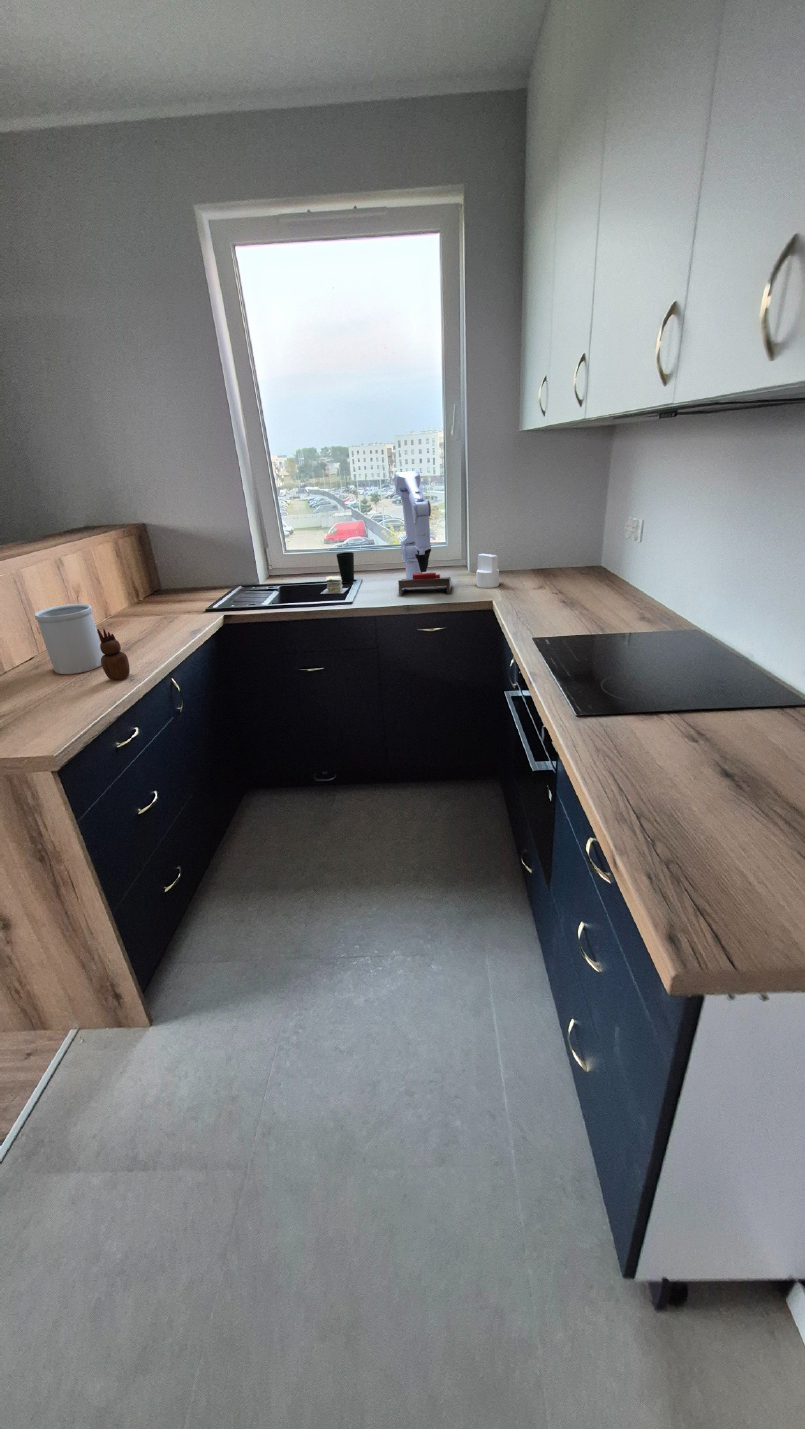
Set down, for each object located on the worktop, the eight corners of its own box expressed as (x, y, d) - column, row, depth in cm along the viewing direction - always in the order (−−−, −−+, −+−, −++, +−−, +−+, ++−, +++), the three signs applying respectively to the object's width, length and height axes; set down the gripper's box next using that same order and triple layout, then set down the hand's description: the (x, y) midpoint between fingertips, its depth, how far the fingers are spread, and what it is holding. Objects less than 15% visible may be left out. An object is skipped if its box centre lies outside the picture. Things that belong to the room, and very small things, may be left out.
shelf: (402, 588, 238) (401, 574, 236) (450, 586, 236) (450, 572, 233) (399, 595, 227) (398, 580, 225) (449, 593, 225) (449, 578, 222)
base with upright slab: (503, 584, 232) (503, 554, 227) (486, 588, 228) (486, 558, 223) (488, 581, 239) (488, 552, 234) (472, 585, 235) (471, 555, 230)
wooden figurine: (107, 684, 158) (91, 632, 152) (106, 678, 163) (90, 627, 156) (133, 679, 161) (118, 627, 154) (131, 673, 165) (117, 622, 159)
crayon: (413, 581, 232) (413, 573, 230) (440, 579, 230) (439, 572, 229) (413, 582, 229) (412, 575, 228) (439, 581, 228) (439, 573, 226)
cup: (355, 582, 255) (352, 554, 250) (338, 583, 256) (335, 555, 251) (357, 578, 262) (354, 551, 257) (340, 579, 263) (337, 552, 258)
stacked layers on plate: (348, 588, 246) (347, 575, 243) (343, 593, 238) (341, 580, 235) (326, 588, 247) (324, 576, 245) (320, 593, 240) (318, 580, 237)
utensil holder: (98, 654, 183) (81, 600, 176) (115, 664, 173) (98, 607, 166) (47, 668, 174) (27, 611, 167) (62, 679, 164) (42, 619, 157)
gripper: (413, 532, 229) (415, 566, 235) (410, 538, 216) (412, 574, 222) (431, 531, 228) (432, 565, 234) (429, 537, 215) (430, 573, 221)
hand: (424, 570), depth 228 cm, fingers open, 7 cm apart
